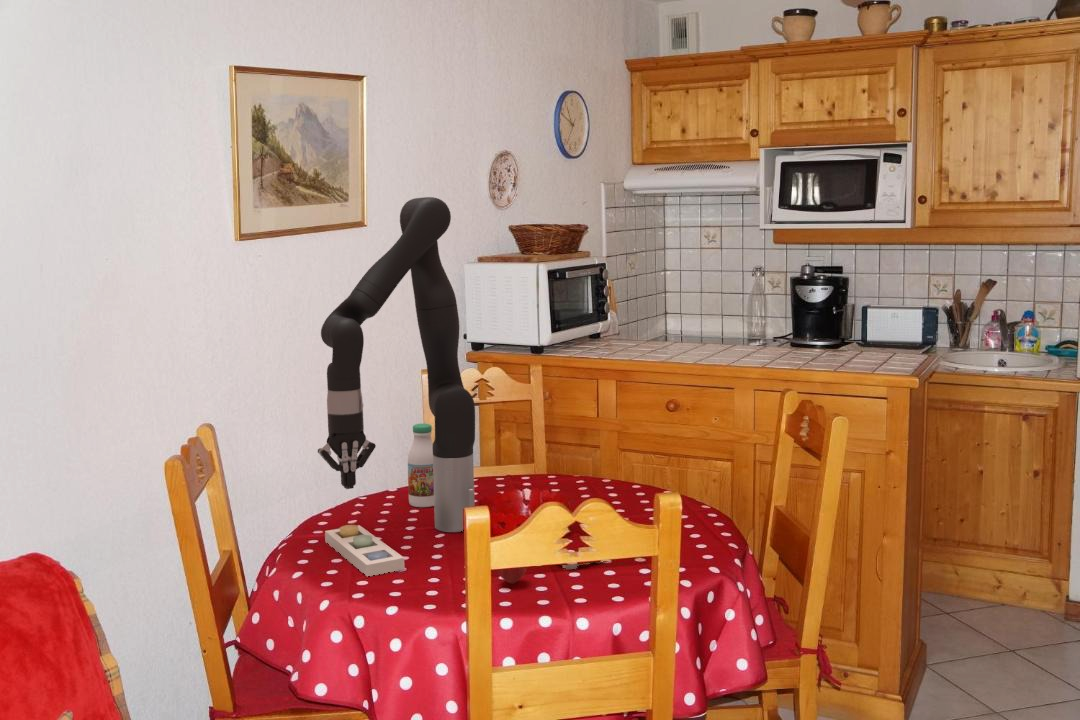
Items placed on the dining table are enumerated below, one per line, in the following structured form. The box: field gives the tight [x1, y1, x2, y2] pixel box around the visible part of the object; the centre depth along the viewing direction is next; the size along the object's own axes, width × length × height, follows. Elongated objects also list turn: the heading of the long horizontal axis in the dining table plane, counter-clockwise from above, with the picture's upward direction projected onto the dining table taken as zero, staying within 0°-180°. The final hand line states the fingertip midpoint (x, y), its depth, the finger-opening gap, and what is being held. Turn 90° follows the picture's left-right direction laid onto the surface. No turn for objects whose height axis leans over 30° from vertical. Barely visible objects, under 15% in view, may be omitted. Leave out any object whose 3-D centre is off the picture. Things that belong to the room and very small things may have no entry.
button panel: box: [324, 524, 405, 578], centre depth 222 cm, size 8×26×2 cm, turn 30°
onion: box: [497, 567, 528, 585], centre depth 204 cm, size 6×6×8 cm
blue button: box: [368, 551, 388, 561], centre depth 215 cm, size 4×4×2 cm
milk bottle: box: [407, 423, 434, 508], centre depth 259 cm, size 8×8×20 cm
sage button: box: [353, 535, 373, 549], centre depth 222 cm, size 4×4×2 cm
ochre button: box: [339, 524, 359, 538], centre depth 229 cm, size 4×4×2 cm
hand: (348, 487), depth 227 cm, fingers closed
